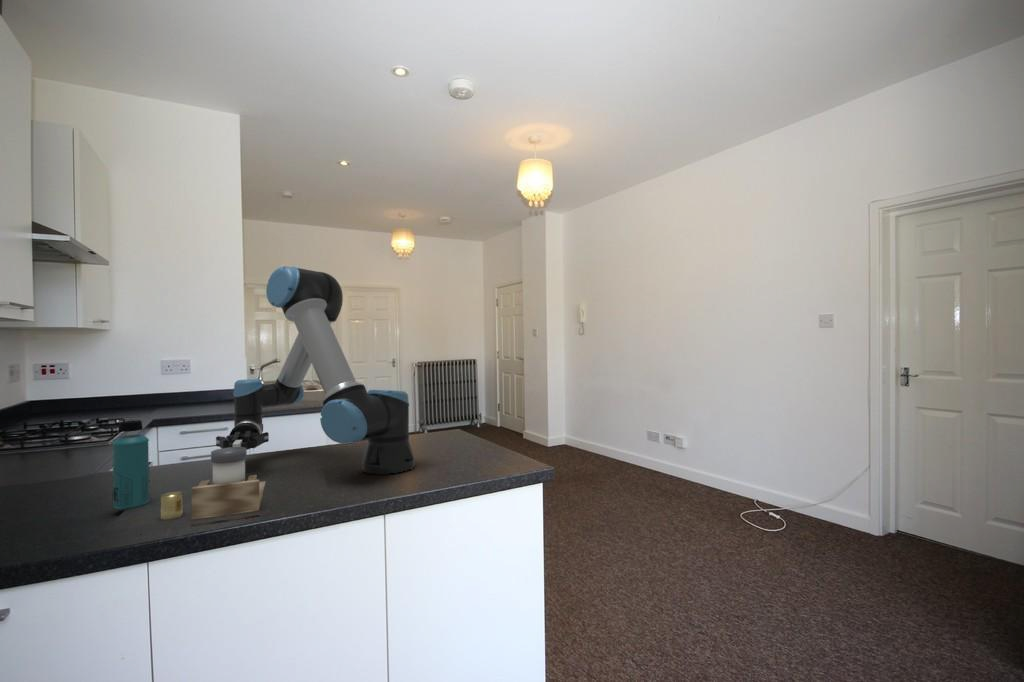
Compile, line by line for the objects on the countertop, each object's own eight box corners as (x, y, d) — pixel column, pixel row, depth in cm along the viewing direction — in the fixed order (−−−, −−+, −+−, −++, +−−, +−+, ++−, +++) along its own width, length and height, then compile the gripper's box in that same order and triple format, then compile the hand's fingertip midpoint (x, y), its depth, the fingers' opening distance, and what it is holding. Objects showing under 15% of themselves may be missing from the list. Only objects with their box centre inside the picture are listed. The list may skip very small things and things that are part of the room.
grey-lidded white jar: (248, 499, 106) (247, 445, 107) (245, 508, 100) (245, 451, 101) (213, 503, 104) (213, 448, 104) (208, 512, 98) (208, 454, 98)
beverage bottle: (157, 507, 106) (157, 418, 107) (126, 517, 100) (126, 423, 100) (135, 505, 108) (135, 417, 108) (103, 515, 102) (103, 422, 102)
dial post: (184, 519, 99) (184, 490, 99) (180, 525, 96) (180, 495, 96) (163, 522, 97) (163, 493, 97) (158, 528, 94) (158, 498, 94)
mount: (265, 487, 121) (265, 457, 121) (258, 517, 100) (258, 481, 100) (210, 493, 116) (210, 463, 116) (191, 527, 95) (191, 489, 95)
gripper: (271, 445, 139) (266, 461, 118) (219, 450, 134) (204, 468, 112) (270, 420, 139) (265, 431, 118) (219, 424, 134) (204, 436, 113)
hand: (236, 449), depth 115 cm, fingers closed
